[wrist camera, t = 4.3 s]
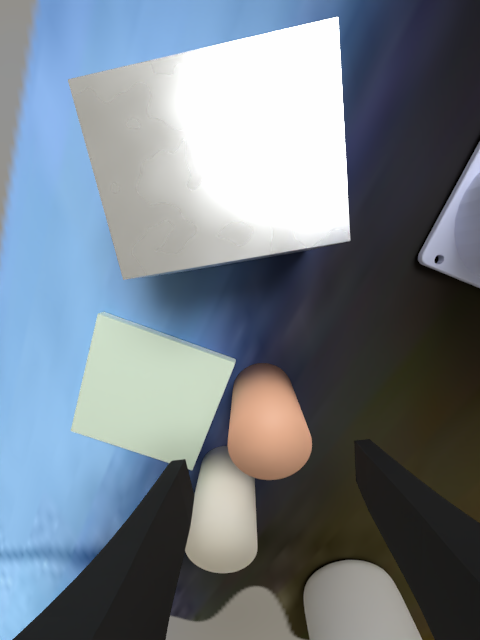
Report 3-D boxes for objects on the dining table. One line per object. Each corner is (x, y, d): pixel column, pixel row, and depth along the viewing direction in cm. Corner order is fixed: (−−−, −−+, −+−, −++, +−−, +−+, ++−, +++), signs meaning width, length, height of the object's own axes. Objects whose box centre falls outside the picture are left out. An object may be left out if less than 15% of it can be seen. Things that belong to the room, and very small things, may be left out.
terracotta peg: (301, 375, 16) (326, 425, 11) (278, 423, 16) (291, 489, 12) (245, 354, 15) (245, 396, 10) (224, 404, 16) (216, 465, 11)
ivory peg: (262, 456, 17) (268, 531, 12) (243, 495, 18) (242, 581, 13) (211, 438, 17) (197, 509, 12) (194, 480, 18) (175, 561, 13)
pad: (235, 359, 15) (235, 363, 15) (194, 463, 17) (192, 470, 17) (103, 311, 15) (97, 313, 14) (76, 425, 17) (70, 430, 16)
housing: (301, 132, 12) (352, 13, 6) (312, 249, 14) (362, 238, 8) (140, 165, 13) (52, 83, 7) (166, 274, 14) (110, 281, 8)
